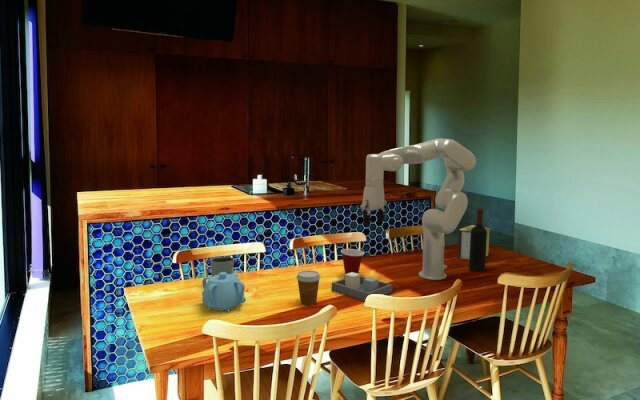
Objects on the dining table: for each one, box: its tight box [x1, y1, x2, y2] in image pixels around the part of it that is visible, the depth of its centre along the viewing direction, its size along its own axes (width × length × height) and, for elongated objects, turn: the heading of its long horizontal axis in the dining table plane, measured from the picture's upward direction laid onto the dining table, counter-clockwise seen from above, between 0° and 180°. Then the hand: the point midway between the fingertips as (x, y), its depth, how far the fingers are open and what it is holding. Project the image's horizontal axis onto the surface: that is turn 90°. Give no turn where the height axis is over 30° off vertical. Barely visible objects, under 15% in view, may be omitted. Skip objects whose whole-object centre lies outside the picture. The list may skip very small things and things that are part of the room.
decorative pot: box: [201, 272, 247, 312], centre depth 206 cm, size 16×16×14 cm
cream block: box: [344, 272, 361, 289], centre depth 227 cm, size 4×4×6 cm
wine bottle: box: [468, 208, 487, 273], centre depth 254 cm, size 8×8×30 cm
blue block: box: [363, 276, 380, 292], centre depth 220 cm, size 4×4×6 cm
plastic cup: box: [340, 248, 365, 275], centre depth 245 cm, size 11×11×12 cm
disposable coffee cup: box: [296, 270, 321, 306], centre depth 210 cm, size 10×10×12 cm
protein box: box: [457, 224, 491, 261], centre depth 279 cm, size 10×15×16 cm
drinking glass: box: [209, 256, 235, 277], centre depth 231 cm, size 10×10×12 cm
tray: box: [331, 275, 393, 302], centre depth 224 cm, size 16×20×4 cm
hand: (373, 222), depth 228 cm, fingers open, 9 cm apart
